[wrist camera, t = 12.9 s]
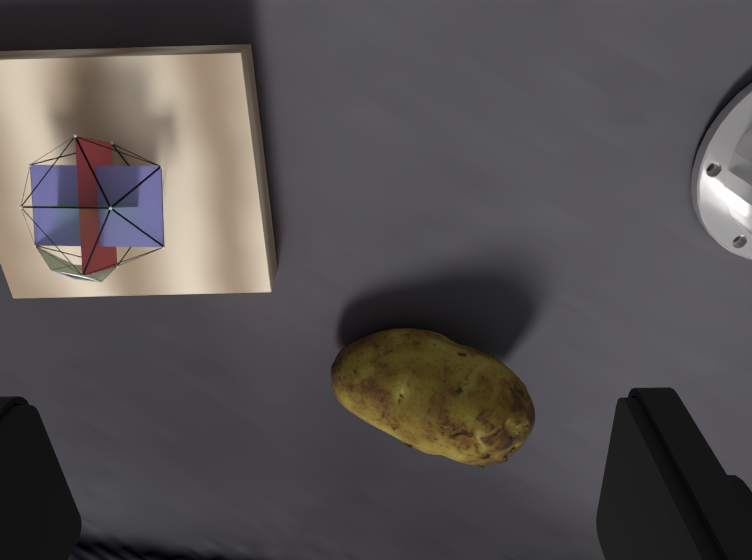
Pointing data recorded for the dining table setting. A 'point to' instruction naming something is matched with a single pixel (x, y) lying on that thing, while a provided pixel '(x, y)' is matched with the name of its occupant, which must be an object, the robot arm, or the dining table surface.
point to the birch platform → (143, 163)
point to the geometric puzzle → (95, 209)
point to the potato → (435, 395)
